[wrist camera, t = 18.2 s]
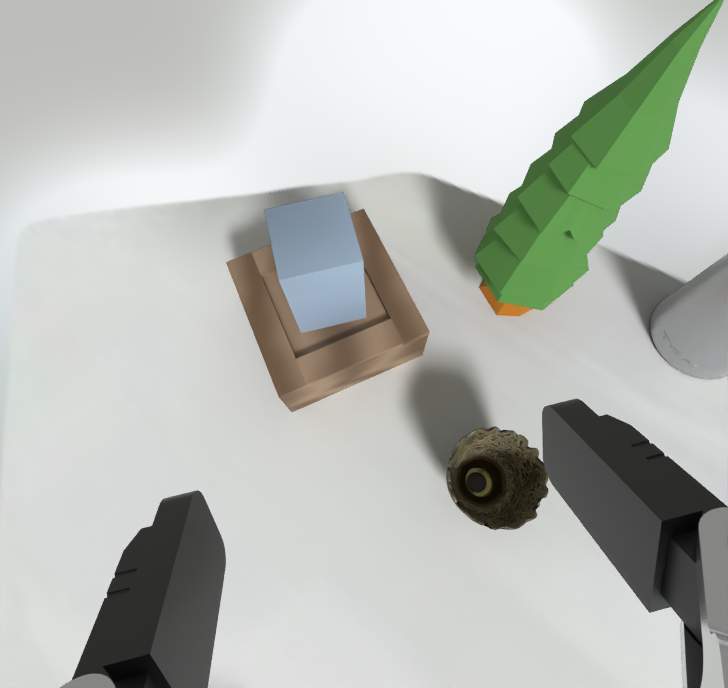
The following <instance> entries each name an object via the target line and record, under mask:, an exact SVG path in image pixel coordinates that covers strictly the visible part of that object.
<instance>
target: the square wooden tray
mask: <svg viewBox="0 0 728 688" xmlns="http://www.w3.org/2000/svg"><path fill="white" fill-rule="evenodd" d="M350 215H351V219H352V222H353V226H354V229H355V233H356V236H357V240H358V243H359V247H360V250H361V254H362V257H363V262H364V282H365V301H366V318H363V319H359V320H354V321H350V322H346V323H342V324H338V325H334V326H329V327H325V328H321V329H317V330H313V331H309V332H305V333H301V332H300V330H299V327H298V325H297V322H296V320H295V318H294V315H293V313H292V311H291V308H290V306H289V303H288V301H287V299H286V296H285V294H284V292H283V289H282V287H281V285H280V282H279V279H278V274H277V269H276V265H275V260H274V255H273V250H272V246H271V245H269V246H267V247H264V248H262V249H259V250H256V251H254V252H251V253H249V254H246V255H244V256H241V257H238V258H236V259H233V260H231V261H228V262H226V263H227V266H228V269H229V271H230V274H231V276H232V279H233V281H234V284H235V286H236V289H237V292H238V294H239V297H240V299H241V302H242V304H243V307H244V309H245V312H246V315H247V317H248V320H249V322H250V325H251V327H252V330H253V332H254V335H255V337H256V340H257V343H258V345H259V348H260V350H261V353H262V355H263V358H264V360H265V363H266V366H267V368H268V371H269V373H270V376H271V378H272V381H273V383H274V386H275V389H276V391H277V394H278V396H279V398H280V399H281V400H282V401H283V402H284V404H285V405H286V406H287V407H288V408H289V409H290V411H291V412H294V411H296V410H298V409H300V408H303V407H305V406H307V405H310V404H312V403H314V402H316V401H319V400H321V399H323V398H325V397H328V396H330V395H332V394H335V393H337V392H339V391H341V390H344V389H346V388H348V387H350V386H353V385H355V384H357V383H360V382H362V381H364V380H366V379H369V378H371V377H373V376H376V375H378V374H380V373H382V372H385V371H387V370H389V369H391V368H394V367H396V366H398V365H401V364H403V363H405V362H407V361H410V360H412V359H414V358H416V357H419V356H421V355H422V354H423V351H424V348H425V344H426V341H427V338H428V335H429V330H428V328H427V326H426V324H425V322H424V320H423V319H422V317H421V315H420V313H419V311H418V309H417V307H416V306H415V304H414V302H413V300H412V298H411V296H410V294H409V292H408V291H407V289H406V287H405V285H404V283H403V281H402V279H401V278H400V276H399V274H398V272H397V270H396V268H395V266H394V264H393V263H392V261H391V259H390V257H389V255H388V253H387V251H386V250H385V248H384V246H383V244H382V242H381V240H380V238H379V236H378V235H377V233H376V231H375V229H374V227H373V225H372V223H371V221H370V220H369V218H368V216H367V214H366V212H365V210H364V209H361V210H359V211H356V212H354V213H351V214H350Z"/></svg>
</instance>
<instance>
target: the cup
mask: <svg viewBox="0 0 728 688" xmlns="http://www.w3.org/2000/svg"><path fill="white" fill-rule="evenodd" d="M538 457H539V451H538V449H537V448H530V447H528V440H527V439H526V438H525V437H524V436H522V435H520V434H519V435H517V433H515V431H510V430H509V431H508V430H502V431H500V429H499V428H498V427H492V428H490V429H484V428H480V429H476V430H474V431H472V432H471V433H469V434H468V435H467V436H465V437H463V438H462V439H461V440H460V441H459V442H458V444H457V446H456V448H455V450H454V451H453V453H452V455H451V458H450V459H449V464H448V467H447V476H446V478H447V486H448V490H449V493H450V495H451V497H452V499H453V501H454V502H455V504H456V505H457V507H458V508H459V509H460V510H461V511H462V512H463V513H464V514H466V515H467V516H468V517H469V518H470V519H471V520H473V521H474V522H476V523H478V524H480V525H484V526H487V527H489V528H490V529H493V530H497V529H507V530H512V529H518V528H520V527H521V526H523V525H524V524H525V523H526V522H528V521H531V520H533V519H535V518H536V517H537V513H536V511H535V510H536V509H537V508H538V507H539V505H540V501H541V499H542V498H546V497H547V494H548V488H547V486H546V483H547V481H548V475H547V473H546V470H545V466H544V463H543V462H542V461H541V460H540V459H539V458H538ZM473 473H479V474H481V475H482V476H483V477H484V478H485V481H486V485H485V488H484V489H483V490H482V491H480V492H475V491H473V490H471V489H470V488H469V486H468V477H469V476H470V475H471V474H473Z"/></svg>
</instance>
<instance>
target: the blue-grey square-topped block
mask: <svg viewBox="0 0 728 688" xmlns="http://www.w3.org/2000/svg"><path fill="white" fill-rule="evenodd" d="M264 212H265V217H266V222H267V226H268V231H269V236H270V241H271V246H272V250H273V255H274V260H275V265H276V269H277V274H278V279H279V282H280V285H281V287H282V289H283V292H284V294H285V296H286V299H287V301H288V303H289V306H290V308H291V311H292V313H293V315H294V318H295V320H296V322H297V325H298V327H299V330H300V332H301V333H305V332H309V331H313V330H317V329H321V328H325V327H329V326H334V325H338V324H342V323H346V322H350V321H354V320H359V319H363V318H366V301H365V282H364V262H363V257H362V254H361V250H360V247H359V243H358V240H357V236H356V233H355V229H354V226H353V222H352V219H351V215H350V212H349V208H348V205H347V201H346V198H345V194H344V192H341V193H336V194H332V195H327V196H323V197H318V198H314V199H310V200H305V201H301V202H296V203H292V204H287V205H283V206H278V207H274V208H269V209H265V210H264Z"/></svg>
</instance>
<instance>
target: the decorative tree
mask: <svg viewBox="0 0 728 688" xmlns="http://www.w3.org/2000/svg"><path fill="white" fill-rule="evenodd" d="M722 3H723V0H714V1H713V2H711V3H710V4H709V5H708V6H706V7H705V8H704V9H702V10H701V11H700V12H699V13H697V14H696V15H695V16H694V17H692V18H691V19H690V20H689V21H687V22H686V23H685V24H683V25H682V26H681V27H680V28H679V29H677V30H676V31H675V32H673V33H672V34H671V35H670V36H669V37H668V38H667V39H665V40H664V41H663V42H662V43H661V44H660V45H659V46H658V47H656V48H655V49H654V50H653V51H652V52H651V53H650V54H648V55H647V56H646V57H645V58H644V59H643V60H642V61H641V62H639V63H638V64H637V65H636V66H635V67H634V68H633V69H631V70H630V71H629V72H628V73H627V74H626V75H624V76H622V77H621V78H619V79H618V80H616V81H615V82H613V83H612V84H610V85H609V86H607V87H606V88H604V89H603V90H601V91H600V92H598V93H597V94H595V95H594V96H592V97H591V98H589V99H588V100H586V101H585V102H584V104H583V106H582V109H581V111H580V114H579V115H578V116H577V117H576V118H574V119H573V120H572V121H570V122H569V123H568V124H567V125H565V126H564V127H563V128H561V129H560V130H559V131H558V132H556V133H555V136H554V141H553V145H552V149H551V150H549V151H548V152H547V153H545V154H544V155H543V156H541V157H540V158H538V159H537V160H536V161H534V162H533V163H532V164H531V165H530V167H529V170H528V172H527V174H526V177H525V179H524V182H523V184H522V186H521V187H519V188H517V189H516V190H514V191H513V192H511V193H510V194H509V196H508V198H507V200H506V202H505V204H504V207H503V209H502V211H501V213H500V214H498V215H496V216H495V217H493V218H491V220H490V223H489V225H488V227H487V232H486V235H485V236H484V238H483V240H482V242H481V243H480V245H479V247H478V249H477V251H476V254H475V256H474V257H475V258H476V260H477V261H478V262H477V264H476V266H475V267H476V269H477V270H478V272H479V273H480V275H481V276H482V278H483V280H484V281H485V282H484V283H483V284H482V285H481V286H480V287H479V288H480V289H481V291H482V293H483V294H484V296H485V297H486V299H487V300H488V302H489V304H490V305H491V307H492V308H493V310H494V311H495V313H496V315H506V316H520V315H522V314H524V313H526V312H528V311H529V310H531V309H538V310H543V309H545V308H546V307H547V306H548V305H549V304H551V303H552V302H553V301H554V300H556V299H557V298H558V297H559V296H560V295H562V294H563V293H564V292H565V291H567V290H568V289H569V288H570V287H572V286H573V283H574V282H575V281H576V280H578V279H579V278H580V277H581V276H582V275H583V274H585V273H586V272H587V271H588V270H589V269H588V260H587V254H588V253H589V252H590V250H591V249H592V248H593V247H594V246H595V245H596V244H597V243H598V241H599V240H600V239H601V238H602V237H603V230H604V229H606V228H607V227H608V226H609V225H611V224H612V223H613V222H614V221H615V220H616V218H617V215H618V212H619V209H620V206H621V205H622V204H624V203H625V202H626V201H628V200H629V199H630V198H632V197H633V196H634V195H636V194H637V193H639V192H640V191H641V190H642V187H643V185H644V182H645V180H646V178H647V176H648V173H649V171H650V168H651V166H652V164H653V163H654V162H655V161H656V160H657V159H658V158H659V157H660V156H662V155H663V154H664V153H665V152H666V151H667V150H668V149H669V144H670V140H671V136H672V131H673V126H674V122H675V117H676V112H677V107H678V103H679V100H680V97H681V95H682V92H683V90H684V87H685V85H686V82H687V79H688V77H689V75H690V72H691V70H692V67H693V65H694V62H695V60H696V57H697V55H698V52H699V49H700V47H701V45H702V43H703V41H704V39H705V37H706V35H707V33H708V31H709V29H710V27H711V25H712V23H713V21H714V19H715V17H716V15H717V13H718V11H719V9H720V7H721V5H722Z"/></svg>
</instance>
